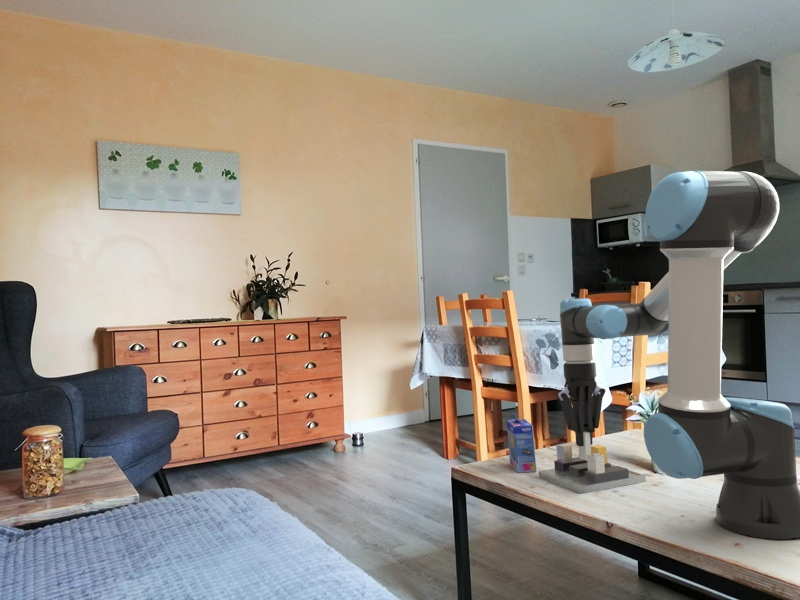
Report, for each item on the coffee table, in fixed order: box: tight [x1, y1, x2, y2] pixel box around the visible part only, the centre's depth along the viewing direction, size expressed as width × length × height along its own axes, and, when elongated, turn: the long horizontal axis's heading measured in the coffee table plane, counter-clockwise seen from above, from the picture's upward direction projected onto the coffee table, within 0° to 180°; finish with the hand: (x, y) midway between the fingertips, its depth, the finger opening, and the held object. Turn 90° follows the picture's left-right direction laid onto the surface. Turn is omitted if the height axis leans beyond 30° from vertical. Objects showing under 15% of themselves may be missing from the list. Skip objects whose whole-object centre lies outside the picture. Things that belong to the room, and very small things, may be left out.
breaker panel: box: [538, 443, 647, 495], centre depth 145 cm, size 16×19×8 cm
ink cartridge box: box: [506, 412, 538, 474], centre depth 159 cm, size 10×6×14 cm, turn 1°
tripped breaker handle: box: [591, 444, 608, 464], centre depth 146 cm, size 3×2×4 cm
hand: (585, 458), depth 145 cm, fingers closed
